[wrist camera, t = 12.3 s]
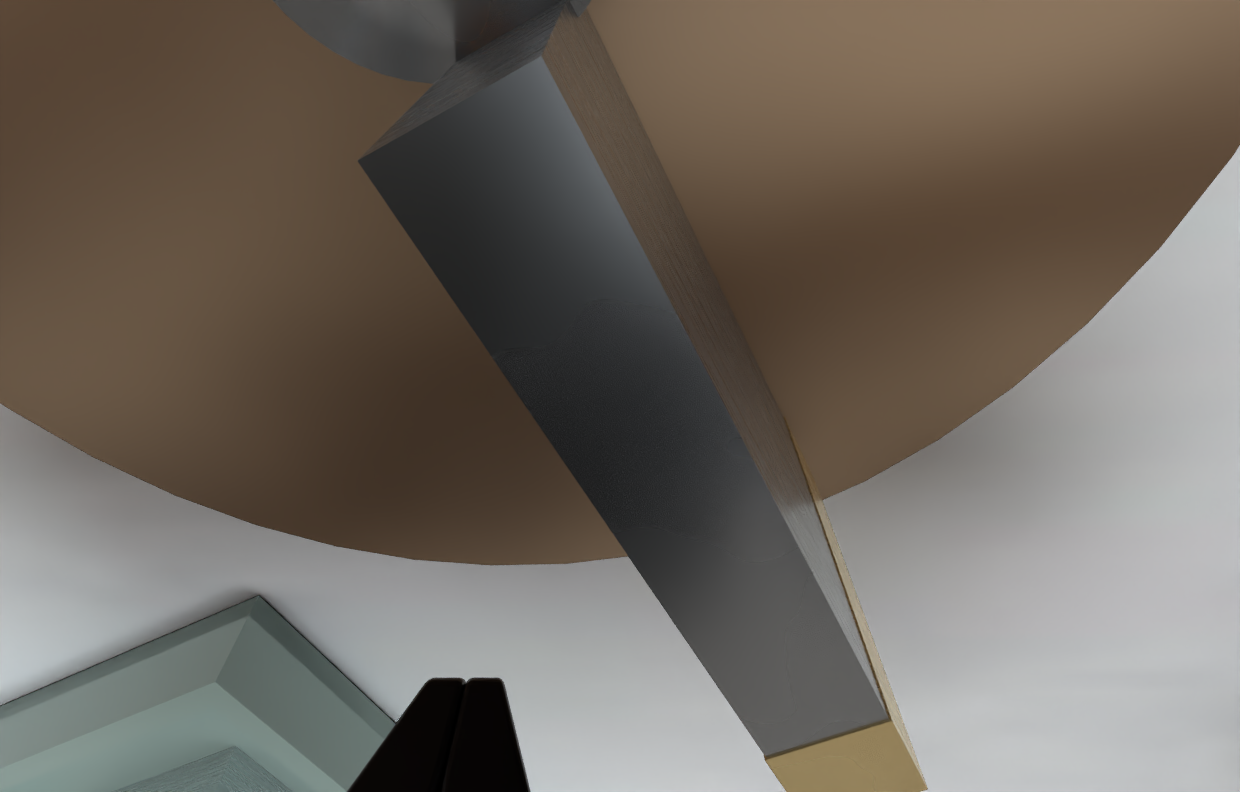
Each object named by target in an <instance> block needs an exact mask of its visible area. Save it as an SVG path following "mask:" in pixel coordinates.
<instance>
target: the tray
mask: <svg viewBox="0 0 1240 792" xmlns="http://www.w3.org/2000/svg"><path fill="white" fill-rule="evenodd" d="M394 726H395V723H394V722H393V721H392V720H391V719H390V718H389V717H388V716H386V715H385V714H384V713H383V712H382V711H381V710H380V709H379V708H378V707H377V706H376V705H375V704H374V703H373V702H372V701H370V700H369V699H368V698H367V697H366V696H365V695H364V694H363V693H362V692H361V691H360V690H359V689H358V688H357V687H356V686H355V685H353V684H352V683H351V682H350V681H349V680H348V679H347V678H346V677H345V676H344V675H343V674H342V673H341V672H340V671H339V670H338V669H336V668H335V667H334V666H333V665H332V664H331V663H330V662H329V661H328V660H327V659H326V658H325V657H324V656H323V655H322V654H320V653H319V652H318V651H317V650H316V649H315V648H314V647H313V646H312V645H311V644H310V643H309V642H308V641H307V640H306V639H305V638H303V637H302V636H301V635H300V634H299V633H298V632H297V631H296V630H295V629H294V628H293V627H292V626H291V625H290V624H289V623H288V622H286V621H285V620H284V619H283V618H282V617H281V616H280V615H279V614H278V613H277V612H276V611H275V610H274V609H273V608H272V607H271V606H269V605H268V604H267V603H266V602H265V601H264V600H263V599H262V598H261V597H260V596H257V597H254V598H252V599H250V600H247V601H245V602H243V603H240V604H238V605H236V606H233V607H231V608H229V609H226V610H224V611H222V612H219V613H217V614H215V615H212V616H210V617H208V618H205V619H203V620H201V621H198V622H196V623H194V624H191V625H189V626H187V627H184V628H182V629H180V630H177V631H175V632H173V633H170V634H168V635H166V636H163V637H161V638H159V639H156V640H154V641H152V642H149V643H147V644H145V645H142V646H140V647H138V648H135V649H133V650H131V651H128V652H126V653H124V654H121V655H119V656H117V657H114V658H112V659H110V660H107V661H105V662H103V663H100V664H98V665H96V666H93V667H91V668H89V669H86V670H84V671H82V672H79V673H77V674H75V675H72V676H70V677H68V678H65V679H63V680H61V681H58V682H56V683H54V684H51V685H49V686H47V687H44V688H42V689H40V690H37V691H35V692H33V693H30V694H28V695H26V696H23V697H21V698H19V699H16V700H14V701H12V702H9V703H7V704H5V705H2V706H0V792H112V791H115V790H117V789H120V788H123V787H126V786H128V785H131V784H134V783H136V782H139V781H142V780H144V779H147V778H150V777H153V776H155V775H158V774H161V773H163V772H166V771H169V770H171V769H174V768H177V767H179V766H182V765H185V764H188V763H190V762H193V761H196V760H198V759H201V758H204V757H206V756H209V755H212V754H214V753H217V752H220V751H223V750H225V749H228V748H231V747H233V746H237V747H238V748H239V749H240V750H242V751H243V752H244V753H245V754H247V755H248V756H249V757H250V758H252V759H253V760H254V761H255V762H257V763H258V764H259V765H261V766H262V767H263V768H264V769H266V770H267V771H268V772H269V773H271V774H272V775H273V776H274V777H276V778H277V779H278V780H279V781H281V782H282V783H283V784H284V785H286V786H287V787H288V788H289V789H291V790H292V791H293V792H347V790H348V789H349V788H350V786H351V785H352V784H353V782H354V781H355V779H356V778H357V777H358V775H359V774H360V773H361V771H362V770H363V768H364V767H365V766H366V764H367V763H368V761H369V760H370V759H371V757H372V756H373V755H374V753H375V752H376V750H377V749H378V748H379V746H380V745H381V743H382V742H383V741H384V739H385V738H386V737H387V735H388V734H389V732H390V731H391V730H392V728H393V727H394Z"/></svg>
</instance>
